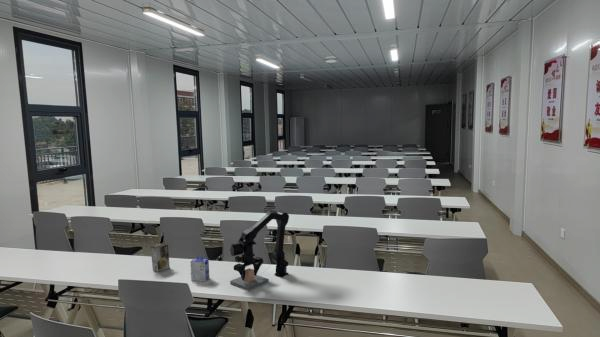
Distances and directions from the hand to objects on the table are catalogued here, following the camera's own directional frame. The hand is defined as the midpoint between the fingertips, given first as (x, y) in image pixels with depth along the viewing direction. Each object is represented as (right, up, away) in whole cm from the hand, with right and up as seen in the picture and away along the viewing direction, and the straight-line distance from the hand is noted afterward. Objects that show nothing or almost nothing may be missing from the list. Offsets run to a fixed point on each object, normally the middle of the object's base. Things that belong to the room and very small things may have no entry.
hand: (249, 277), depth 231 cm
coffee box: (-62, -2, +27) cm, 67 cm away
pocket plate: (0, -3, 0) cm, 3 cm away
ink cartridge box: (-31, -3, +8) cm, 32 cm away
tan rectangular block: (0, -3, 0) cm, 3 cm away
